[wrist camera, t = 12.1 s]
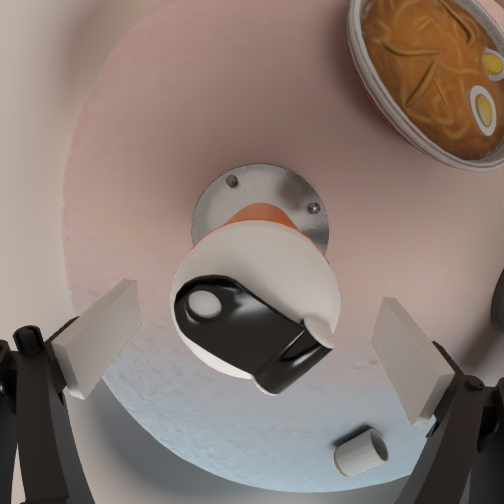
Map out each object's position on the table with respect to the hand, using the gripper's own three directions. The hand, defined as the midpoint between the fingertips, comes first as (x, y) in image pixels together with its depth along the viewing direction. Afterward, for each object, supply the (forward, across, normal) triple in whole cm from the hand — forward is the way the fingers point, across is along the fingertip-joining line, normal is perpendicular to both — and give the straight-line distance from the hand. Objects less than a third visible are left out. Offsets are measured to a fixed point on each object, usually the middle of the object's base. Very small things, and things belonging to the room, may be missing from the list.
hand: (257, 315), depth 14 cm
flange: (+18, -1, 0) cm, 18 cm away
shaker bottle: (+18, 0, 0) cm, 18 cm away
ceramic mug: (+19, +21, -38) cm, 47 cm away
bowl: (+18, +17, +21) cm, 33 cm away
